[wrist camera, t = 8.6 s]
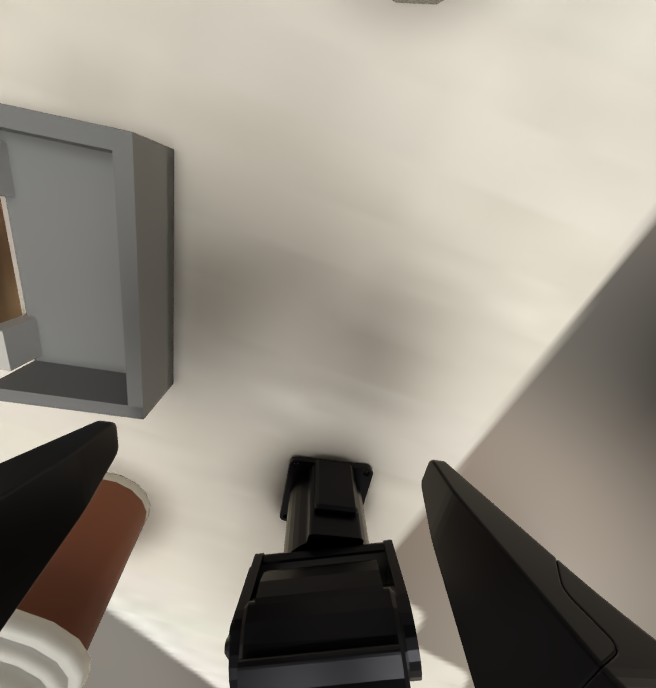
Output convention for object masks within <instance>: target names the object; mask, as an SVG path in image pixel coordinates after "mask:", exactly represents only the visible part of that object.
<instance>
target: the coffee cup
mask: <svg viewBox="0 0 656 688" xmlns="http://www.w3.org/2000/svg"><path fill="white" fill-rule="evenodd" d="M149 510H150V503H149V500H148V498H147V495H146V493H145V492H144V491H143V490H142V489H141V488H140V487H139V486H138V485H137V484H136V483H134V482H132V481H130V480H128V479H126V478H124V477H123V476H120V475H116V474H111V473H106V474H105V476H104V478H103V479H102V481H101V483H100V485H99V487H98V488H97V490H96V492H95V494H94V496H93V497H92V499H91V501H90V503H89V504H88V506H87V508H86V509H85V511H84V512H83V514H82V515H81V517H80V518H79V520H78V521H77V522H76V524H75V525H74V527H73V528H72V530H71V531H70V533H69V534H68V535H67V537H66V538H65V540H64V541H63V543H62V544H61V545H60V547H59V548H58V550H57V551H56V553H55V554H54V555H53V557H52V558H51V560H50V561H49V563H48V564H47V566H46V567H45V568H44V570H43V571H42V573H41V574H40V576H39V577H38V578H37V580H36V581H35V583H34V584H33V586H32V587H31V589H30V590H29V591H28V593H27V594H26V596H25V597H24V599H23V600H22V601H21V603H20V604H19V606H18V607H17V609H16V610H15V612H14V613H13V614H12V616H11V617H10V619H9V620H8V622H7V623H6V624H5V626H4V627H3V629H2V630H1V632H0V688H83V686H84V684H85V681H86V679H87V677H88V676H89V672H90V662H91V657H90V655H89V653H88V652H87V650H88V648H89V646H90V643H91V641H92V638H93V636H94V634H95V632H96V630H97V628H98V625H99V623H100V621H101V619H102V617H103V614H104V612H105V610H106V608H107V605H108V603H109V601H110V599H111V597H112V594H113V592H114V590H115V588H116V585H117V583H118V581H119V579H120V576H121V574H122V572H123V570H124V568H125V565H126V563H127V561H128V559H129V556H130V554H131V552H132V550H133V547H134V545H135V543H136V541H137V539H138V536H139V534H140V532H141V530H142V527H143V525H144V523H145V521H146V519H147V517H148V516H149Z"/></svg>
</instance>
